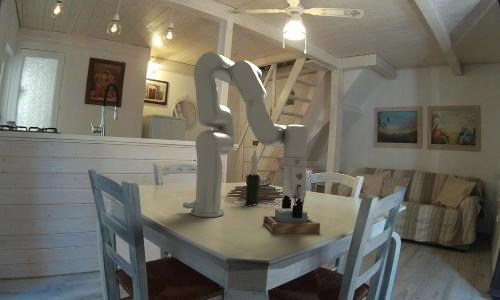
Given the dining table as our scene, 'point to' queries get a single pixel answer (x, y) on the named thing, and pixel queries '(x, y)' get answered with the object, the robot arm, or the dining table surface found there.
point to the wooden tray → (290, 226)
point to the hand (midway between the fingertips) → (291, 214)
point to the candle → (253, 182)
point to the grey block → (288, 216)
